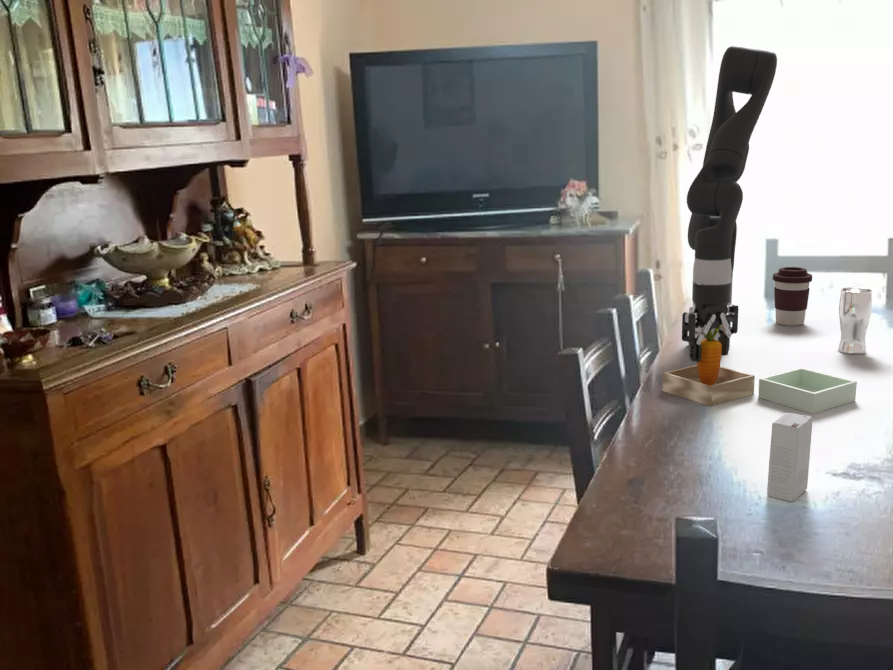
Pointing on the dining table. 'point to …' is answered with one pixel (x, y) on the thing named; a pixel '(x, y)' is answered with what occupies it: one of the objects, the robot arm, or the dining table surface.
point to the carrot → (709, 358)
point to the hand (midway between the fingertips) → (709, 357)
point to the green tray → (807, 390)
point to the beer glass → (854, 319)
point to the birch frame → (724, 389)
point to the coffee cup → (791, 295)
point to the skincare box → (789, 456)
